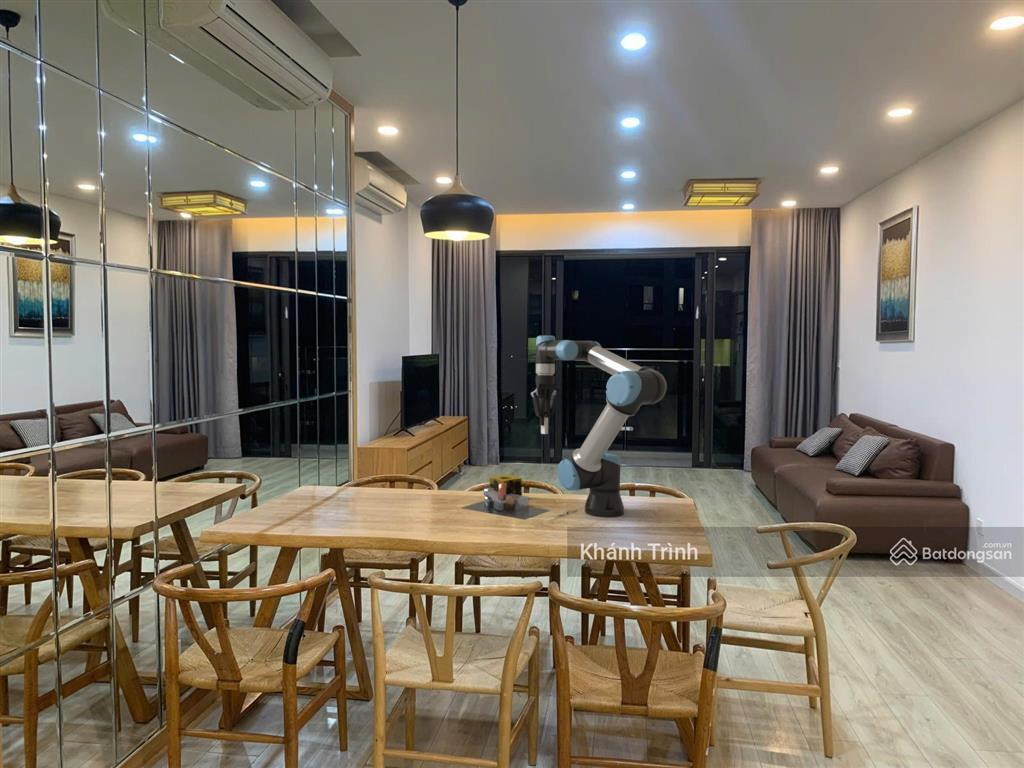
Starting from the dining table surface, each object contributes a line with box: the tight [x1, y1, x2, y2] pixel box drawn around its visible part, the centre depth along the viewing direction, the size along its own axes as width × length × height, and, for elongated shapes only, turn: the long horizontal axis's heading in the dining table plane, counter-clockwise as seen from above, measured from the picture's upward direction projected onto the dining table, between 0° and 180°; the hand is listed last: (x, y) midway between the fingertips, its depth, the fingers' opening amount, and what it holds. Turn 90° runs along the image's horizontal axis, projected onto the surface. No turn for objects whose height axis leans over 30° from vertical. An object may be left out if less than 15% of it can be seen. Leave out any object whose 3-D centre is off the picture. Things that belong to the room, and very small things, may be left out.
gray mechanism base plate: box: [461, 494, 551, 521], centre depth 255 cm, size 30×18×6 cm, turn 55°
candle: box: [489, 474, 523, 496], centre depth 276 cm, size 10×10×10 cm
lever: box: [483, 483, 506, 510], centre depth 253 cm, size 18×4×11 cm, turn 21°
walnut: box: [506, 496, 517, 509], centre depth 257 cm, size 4×4×4 cm
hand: (544, 433), depth 265 cm, fingers closed
